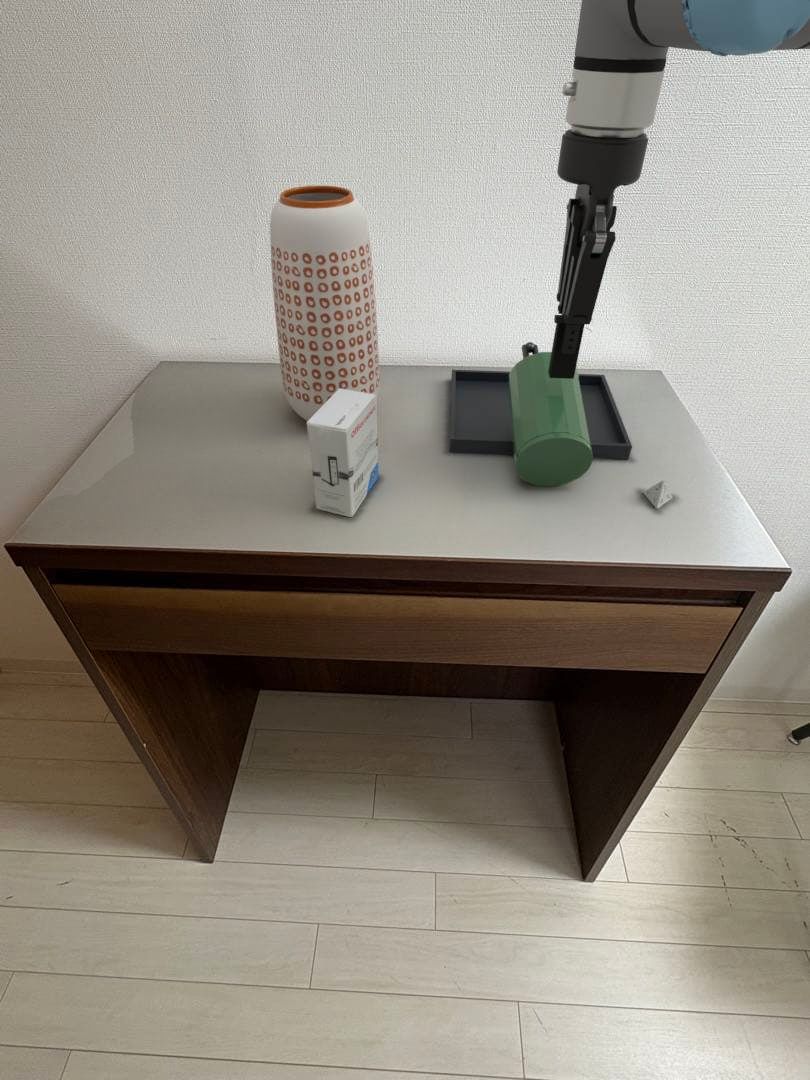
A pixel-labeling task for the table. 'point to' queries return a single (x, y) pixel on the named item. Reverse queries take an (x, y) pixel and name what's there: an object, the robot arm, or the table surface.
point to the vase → (323, 296)
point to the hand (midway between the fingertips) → (560, 375)
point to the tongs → (529, 349)
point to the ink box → (344, 450)
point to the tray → (488, 424)
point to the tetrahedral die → (658, 494)
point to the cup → (547, 424)
